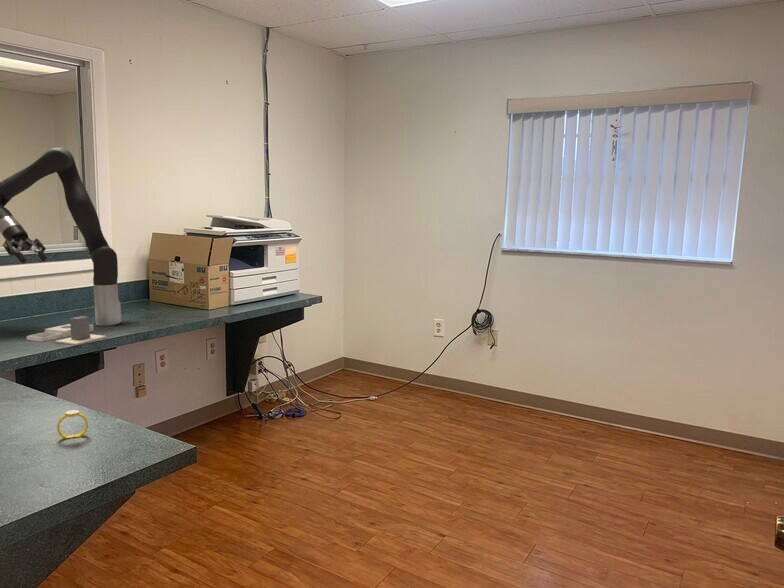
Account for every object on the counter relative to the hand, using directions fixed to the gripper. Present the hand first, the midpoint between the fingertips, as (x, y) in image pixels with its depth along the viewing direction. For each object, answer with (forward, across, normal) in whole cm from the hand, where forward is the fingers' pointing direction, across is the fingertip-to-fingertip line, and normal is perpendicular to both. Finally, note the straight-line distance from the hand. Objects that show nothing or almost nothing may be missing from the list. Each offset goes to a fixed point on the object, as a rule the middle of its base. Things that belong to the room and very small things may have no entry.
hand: (35, 261), depth 232 cm
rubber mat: (+37, -2, +4) cm, 37 cm away
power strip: (+27, +1, +13) cm, 30 cm away
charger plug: (+36, -2, +3) cm, 37 cm away
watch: (+92, -73, -51) cm, 128 cm away
